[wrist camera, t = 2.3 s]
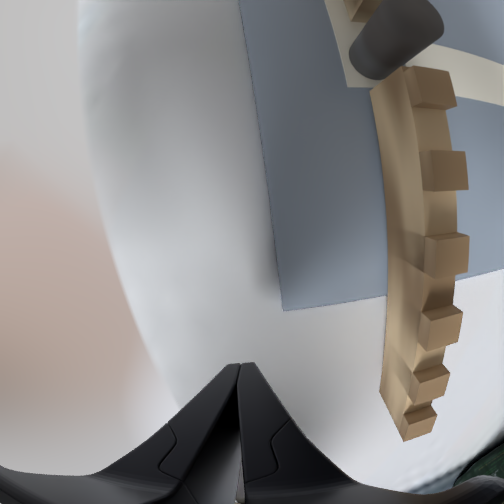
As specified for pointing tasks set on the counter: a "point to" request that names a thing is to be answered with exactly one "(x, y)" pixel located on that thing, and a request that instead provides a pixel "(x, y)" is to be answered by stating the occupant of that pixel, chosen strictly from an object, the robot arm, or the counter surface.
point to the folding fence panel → (419, 240)
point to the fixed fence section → (391, 33)
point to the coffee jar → (486, 466)
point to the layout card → (364, 142)
